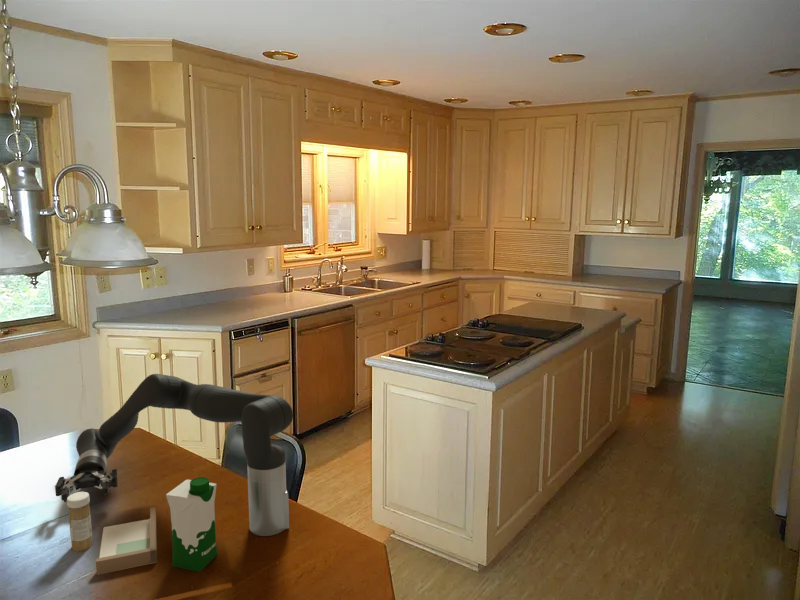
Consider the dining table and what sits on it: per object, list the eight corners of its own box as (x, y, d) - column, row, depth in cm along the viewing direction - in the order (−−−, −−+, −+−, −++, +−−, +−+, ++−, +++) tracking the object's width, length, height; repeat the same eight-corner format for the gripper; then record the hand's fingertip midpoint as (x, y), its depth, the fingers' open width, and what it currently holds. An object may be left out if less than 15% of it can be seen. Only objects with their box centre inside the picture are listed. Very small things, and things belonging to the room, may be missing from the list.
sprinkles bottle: (76, 544, 141) (71, 491, 139) (96, 543, 141) (92, 490, 139) (68, 555, 136) (62, 501, 134) (88, 554, 137) (84, 500, 135)
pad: (149, 538, 142) (149, 538, 142) (149, 555, 136) (149, 554, 136) (117, 544, 139) (117, 544, 139) (115, 561, 133) (115, 560, 133)
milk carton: (201, 578, 129) (196, 492, 126) (165, 570, 131) (160, 486, 128) (223, 555, 137) (220, 474, 134) (189, 548, 140) (185, 468, 136)
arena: (156, 520, 151) (155, 506, 151) (156, 565, 133) (155, 549, 132) (103, 530, 147) (102, 516, 146) (97, 577, 129) (95, 561, 128)
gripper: (60, 459, 160) (51, 486, 145) (118, 451, 166) (115, 476, 151) (62, 484, 162) (53, 514, 147) (120, 476, 167) (117, 504, 152)
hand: (84, 495), depth 149 cm, fingers open, 8 cm apart
